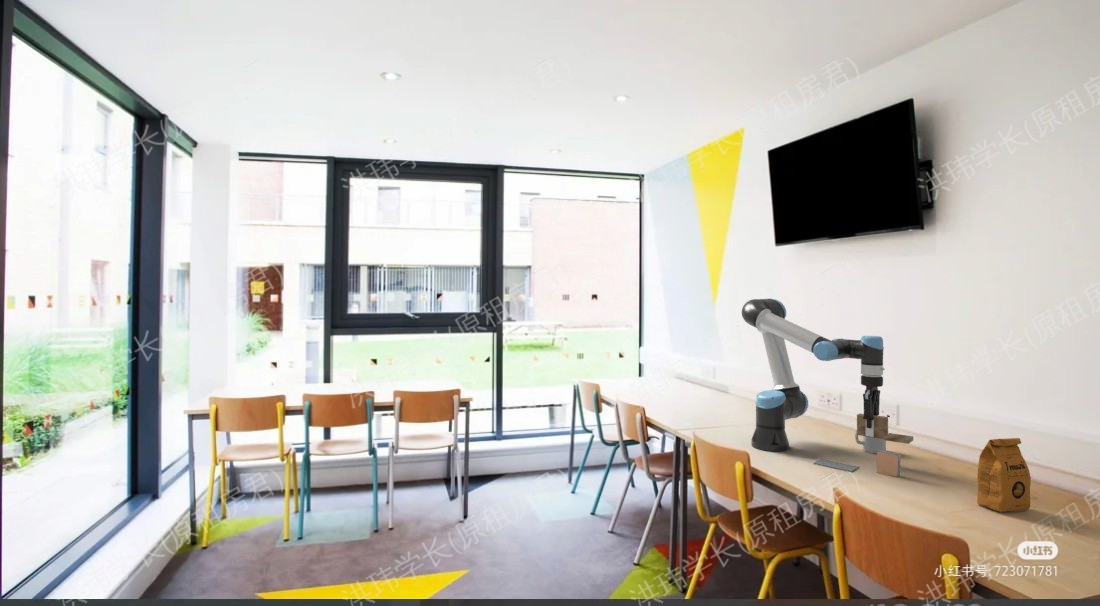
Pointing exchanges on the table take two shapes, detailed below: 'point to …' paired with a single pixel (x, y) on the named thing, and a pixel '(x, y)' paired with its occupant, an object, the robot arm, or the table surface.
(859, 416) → the stepped wooden block
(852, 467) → the pad
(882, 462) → the tile
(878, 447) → the mug
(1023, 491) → the coffee package
